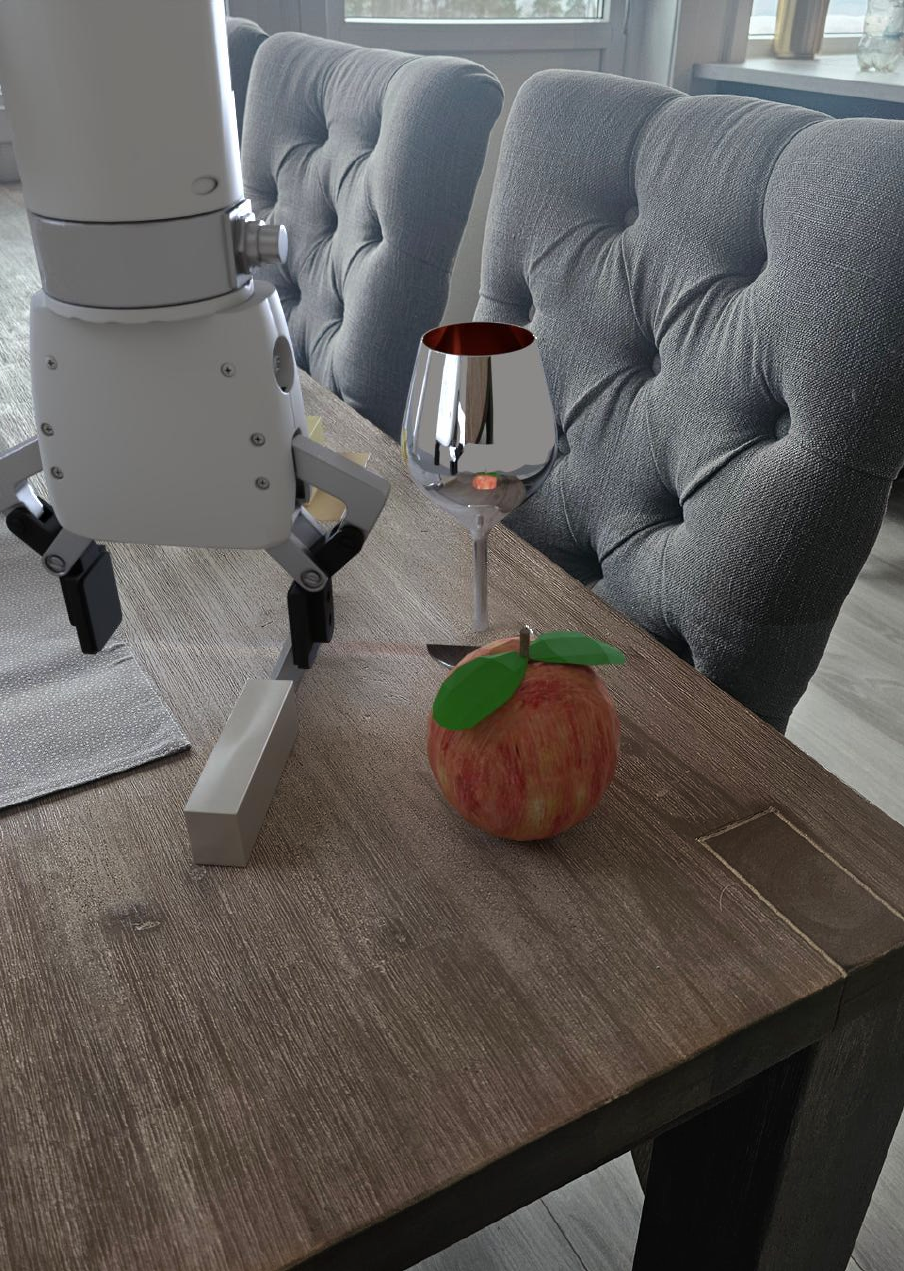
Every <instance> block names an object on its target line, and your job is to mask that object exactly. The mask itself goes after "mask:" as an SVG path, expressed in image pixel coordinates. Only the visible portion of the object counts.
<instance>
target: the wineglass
mask: <svg viewBox="0 0 904 1271" xmlns="http://www.w3.org/2000/svg"><path fill="white" fill-rule="evenodd" d="M542 358H543V357H542V355H541V350H540V346H539V343H538V339H537V335H536V334H535V332H533V331H532V330H531V329H529V328H526V327H524V326H520V325H518V324H514V323H507V322H499V321H484V320H483V321H481V320H480V321H461V322H453V323H449V324H444V325H440V326H437V327H434V328H432V329H429V330H427V331H425V333H423V334H422V335H421V337H420V341H419V344H418V348H417V352H416V356H415V361H414V364H413V370H412V374H411V379H410V383H409V387H408V392H407V397H406V403H405V407H404V413H403V418H402V419H403V420H402V424H401V433H400V453H401V458H402V462H403V465H404V468H405V470H406V472H407V474H408V476H409V478H410V479H411V480H412V482H413V484H414V485H415V486H416V487H417V489H418V490H419V491H420V492H421V493H422V494H423V495H424V496H425V497H426V498H427V499H428V500H429V501H431V502H432V503H433V504H434V505H436V506H437V507H439V508H440V509H442V510H443V511H444V512H446V513H448V514H449V515H451V516H452V517H454V518H455V519H456V520H458V522H460V523H461V524H462V525H463V526H465V528H466V529H467V531H468V532H469V533H470V535H471V537H472V564H473V566H472V568H473V571H472V574H473V614H472V624H471V629H472V630H473V632H477V633H484V632H485V633H486V632H487V631H489V630H490V628H491V627H490V622H489V608H488V606H489V605H488V539H489V538H488V537H489V535H490V534H491V531H492V530H493V528H494V527H495V526H496V525H497V524H498V523H500V521H501V520H503V519H504V518H505V517H507V516H509V515H510V514H511V513H513V512H514V511H516V510H517V509H518V508H520V507H521V506H522V505H524V504H525V503H526V502H528V501H529V500H530V499H531V498H532V497H533V496H534V495H535V494H537V493H538V491H539V490H540V489H541V488H542V486H543V485H544V484H545V482H546V481H547V479H548V478H549V476H550V475H551V473H552V471H553V469H554V466H555V464H556V460H557V456H558V448H559V434H558V426H557V419H556V415H555V409H554V405H553V400H552V396H551V391H550V386H549V383H548V378H547V374H546V370H545V367H544V362H543V359H542ZM525 628H527V629H529V630H530V637H534V638H536V637H535V634H534V632H533V631H532V629H531V628H530V627H529V626H528V624H526V625H525ZM481 647H483V646H477V645H457V644H456V645H455V644H435V643H433V644H432V643H426V650H427V652H428V654H429V655H430V657H431V658H432V659H433V660H434V661H435V662H437V663H438V664H439V665H441V666H443V667H444V668H447V669H449V670H452V669H453V668H454V667H455V666H456V665H457V664H458V663H459V662H460V661H461V660H462V659H463V658H464V657H465V656H467V655H468V654H469V653H471V652H473V651H475V650H477V649H479V648H481Z"/></svg>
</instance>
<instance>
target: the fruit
mask: <svg viewBox="0 0 904 1271" xmlns="http://www.w3.org/2000/svg"><path fill="white" fill-rule="evenodd" d="M626 660H627V658H626V656H625V655H624V653H623V651H622V650H620V649H618V648H617V647H615V646H613V645H611V644H608V643H605V642H603V641H601V640H598V639H596V638H594V637H591V636H588V635H586V634H583V633H581V632H578V631H569V630H567V631H566V630H555V631H550V632H547V633H542V634H540V635H539V636H537V637H535V638H534V637H530V630H529V629H527V628H526V627H523V628H520V629H519V636H515V637H513V636H512V637H506V638H505V637H504V638H498V639H495V640H493V641H492V642H490V643H487V644H485V645H483V646H482V647H481V648H479V649H477V650H475V651H473V652H471V653H469V654H468V655H467V656H465V657H464V658H463V659H462V660H461V661H460V662H459V663H458V664H457V665H456V666H455V667H454V668H453V669H450V671H449V672H448V673H447V675H446V676H445V678H444V679H443V681H442V682H441V685H440V686H439V687H438V689H437V691H436V695H435V697H434V700H433V703H432V706H431V708H430V711H429V715H428V716H427V717H428V718H427V730H426V732H427V734H426V752H427V758H428V764H429V766H430V768H431V770H432V773H433V775H434V778H435V779H436V782H437V784H438V786H439V788H440V791H441V794H442V795H443V797H444V799H445V801H447V802H448V804H449V805H450V806H451V807H452V808H453V809H454V810H455V811H456V812H457V813H458V814H459V815H460V817H461V818H462V819H463V820H464V821H465V822H467V823H469V824H470V825H472V826H474V827H476V828H478V829H480V830H481V831H483V832H485V833H486V834H488V835H491V836H493V837H496V838H502V839H507V840H512V841H519V842H524V841H533V840H534V841H535V840H546V839H549V838H551V837H554V836H556V835H559V834H561V833H564V832H566V831H568V830H571V829H572V828H573V827H575V826H577V825H579V824H580V823H581V822H582V821H583V820H584V819H585V818H586V817H588V816H589V814H590V813H591V812H592V811H593V810H595V808H596V807H598V805H599V803H600V802H601V800H602V798H603V796H604V795H605V794H606V792H607V790H608V789H609V787H610V786H611V784H612V782H613V780H614V775H615V772H616V767H617V765H618V760H619V755H620V748H621V742H622V738H621V736H622V735H621V734H622V732H621V721H620V718H619V715H618V712H617V708H616V705H615V703H614V701H613V698H612V696H611V694H610V691H609V689H608V687H607V685H606V683H605V682H604V680H603V678H602V677H601V676H600V674H599V672H598V671H597V670H596V669H595V668H594V666H604V665H620V666H624V665H625V663H626Z"/></svg>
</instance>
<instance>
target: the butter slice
mask: <svg viewBox="0 0 904 1271" xmlns="http://www.w3.org/2000/svg"><path fill="white" fill-rule="evenodd" d="M305 416H306V422H307V428H308V435H309V439H311V440H313V441H315V442H317V443H319V444H320V445H322V446H324V447H325V441H324V430H323V418H322V416H319V415H316V416H315V415H305ZM317 490H318V488H316V487H314V486H313V491H312V496H311V499H310V501H309V503H305V504H303V505H302V506H309V505H310V503H311V501H312V499H313V497H314V495H315V493H316V492H317Z"/></svg>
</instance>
